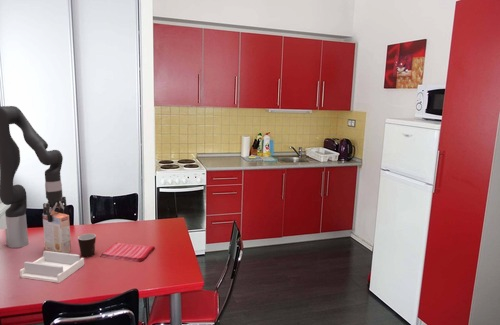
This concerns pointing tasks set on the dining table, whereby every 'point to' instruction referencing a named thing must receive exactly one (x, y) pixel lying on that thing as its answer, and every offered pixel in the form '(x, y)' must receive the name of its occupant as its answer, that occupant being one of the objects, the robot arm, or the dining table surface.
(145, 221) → the dining table surface
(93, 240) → the coffee mug
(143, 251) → the dish towel
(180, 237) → the dining table surface
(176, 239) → the dining table surface
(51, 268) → the white shallow tray
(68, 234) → the cracker box
